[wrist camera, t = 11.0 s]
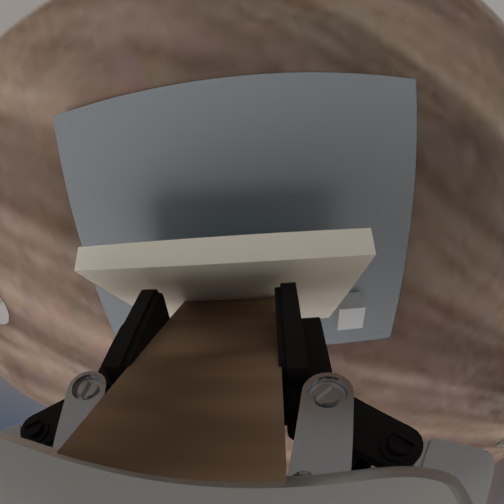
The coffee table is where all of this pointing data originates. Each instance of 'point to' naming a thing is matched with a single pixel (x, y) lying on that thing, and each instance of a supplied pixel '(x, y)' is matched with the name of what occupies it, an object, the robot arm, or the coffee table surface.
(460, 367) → the coffee table surface
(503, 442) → the caliper
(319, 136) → the board
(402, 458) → the robot arm
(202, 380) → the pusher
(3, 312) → the wineglass
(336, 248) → the tile
